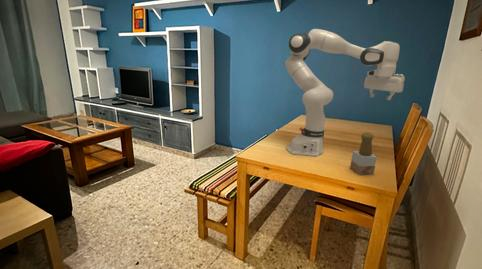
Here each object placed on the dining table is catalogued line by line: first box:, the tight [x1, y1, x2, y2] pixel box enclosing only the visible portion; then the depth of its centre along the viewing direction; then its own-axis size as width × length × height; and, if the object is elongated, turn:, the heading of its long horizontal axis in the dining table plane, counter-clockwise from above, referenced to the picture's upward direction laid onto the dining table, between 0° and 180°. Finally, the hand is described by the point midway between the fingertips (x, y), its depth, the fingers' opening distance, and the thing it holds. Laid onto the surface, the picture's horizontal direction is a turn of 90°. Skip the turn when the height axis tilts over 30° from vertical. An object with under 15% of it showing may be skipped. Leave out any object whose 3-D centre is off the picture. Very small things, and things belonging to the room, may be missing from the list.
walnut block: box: [349, 160, 376, 176], centre depth 129 cm, size 8×8×5 cm
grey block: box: [350, 150, 378, 167], centre depth 127 cm, size 8×8×5 cm
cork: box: [358, 132, 374, 156], centre depth 124 cm, size 6×6×11 cm
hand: (380, 98), depth 139 cm, fingers open, 8 cm apart
